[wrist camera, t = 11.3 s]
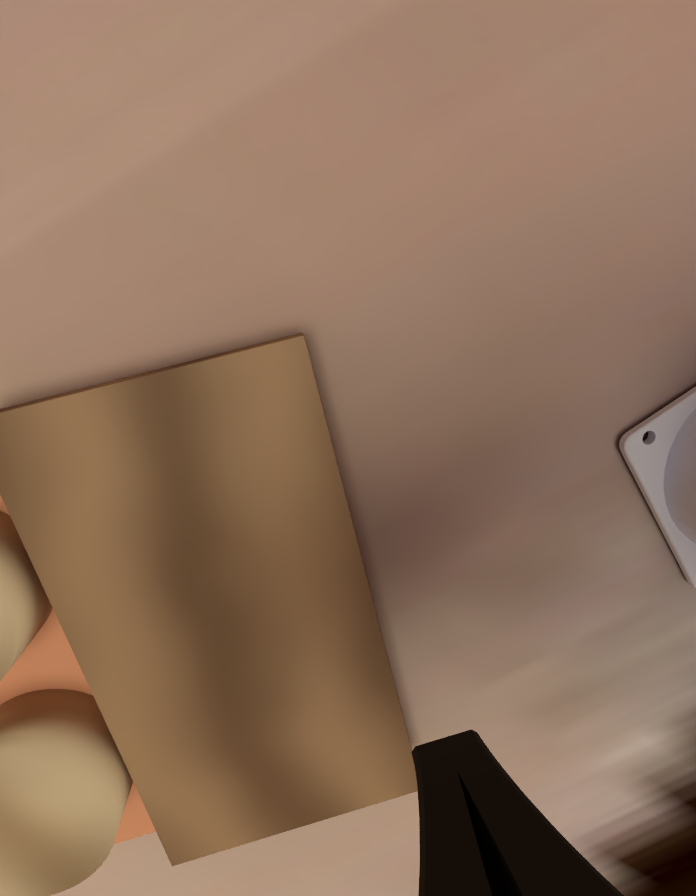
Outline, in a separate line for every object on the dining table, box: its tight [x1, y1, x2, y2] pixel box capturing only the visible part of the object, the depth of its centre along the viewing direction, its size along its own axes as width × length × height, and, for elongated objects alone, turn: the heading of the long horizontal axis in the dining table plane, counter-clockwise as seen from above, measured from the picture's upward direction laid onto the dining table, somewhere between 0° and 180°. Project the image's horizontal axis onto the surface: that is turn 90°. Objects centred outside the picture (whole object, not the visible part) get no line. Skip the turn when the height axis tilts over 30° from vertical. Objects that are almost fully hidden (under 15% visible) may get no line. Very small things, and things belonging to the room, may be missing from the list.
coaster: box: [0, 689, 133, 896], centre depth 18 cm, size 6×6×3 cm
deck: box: [0, 333, 418, 866], centre depth 18 cm, size 10×18×2 cm, turn 14°
